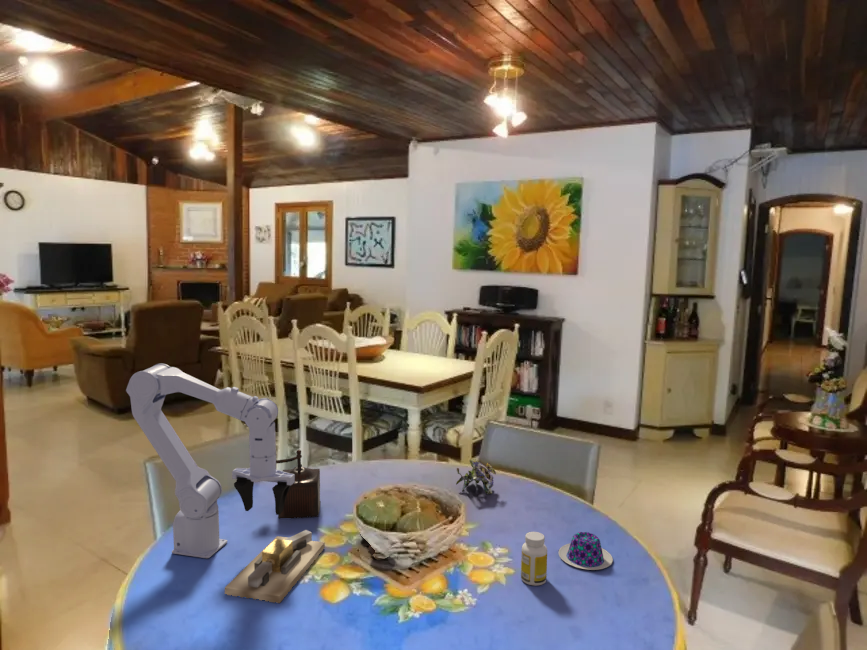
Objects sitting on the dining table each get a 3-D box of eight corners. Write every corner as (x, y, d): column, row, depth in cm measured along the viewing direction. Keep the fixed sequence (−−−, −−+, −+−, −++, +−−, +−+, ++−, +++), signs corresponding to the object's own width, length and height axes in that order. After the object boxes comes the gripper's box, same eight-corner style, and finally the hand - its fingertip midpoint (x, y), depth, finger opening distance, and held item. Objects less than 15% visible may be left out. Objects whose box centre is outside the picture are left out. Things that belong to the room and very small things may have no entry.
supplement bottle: (548, 575, 127) (549, 532, 126) (544, 588, 122) (546, 544, 121) (523, 570, 129) (524, 528, 128) (518, 583, 124) (519, 539, 123)
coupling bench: (224, 594, 119) (224, 574, 118) (277, 542, 140) (276, 524, 139) (279, 603, 116) (279, 582, 115) (324, 548, 137) (324, 530, 137)
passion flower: (488, 511, 170) (499, 488, 162) (451, 504, 170) (460, 481, 162) (488, 477, 179) (499, 454, 171) (453, 471, 178) (462, 448, 170)
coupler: (261, 571, 125) (261, 553, 124) (276, 554, 131) (276, 537, 131) (278, 573, 124) (278, 555, 123) (293, 557, 130) (293, 540, 130)
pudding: (549, 560, 134) (550, 539, 133) (571, 540, 144) (572, 520, 143) (600, 579, 127) (601, 556, 126) (620, 556, 136) (621, 535, 136)
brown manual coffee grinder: (321, 499, 164) (320, 436, 162) (318, 517, 153) (318, 450, 151) (263, 501, 162) (262, 438, 160) (257, 520, 151) (255, 452, 149)
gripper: (223, 456, 131) (225, 515, 133) (284, 463, 128) (285, 522, 130) (240, 446, 138) (242, 502, 140) (298, 452, 135) (299, 508, 136)
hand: (264, 511), depth 135 cm, fingers open, 7 cm apart
